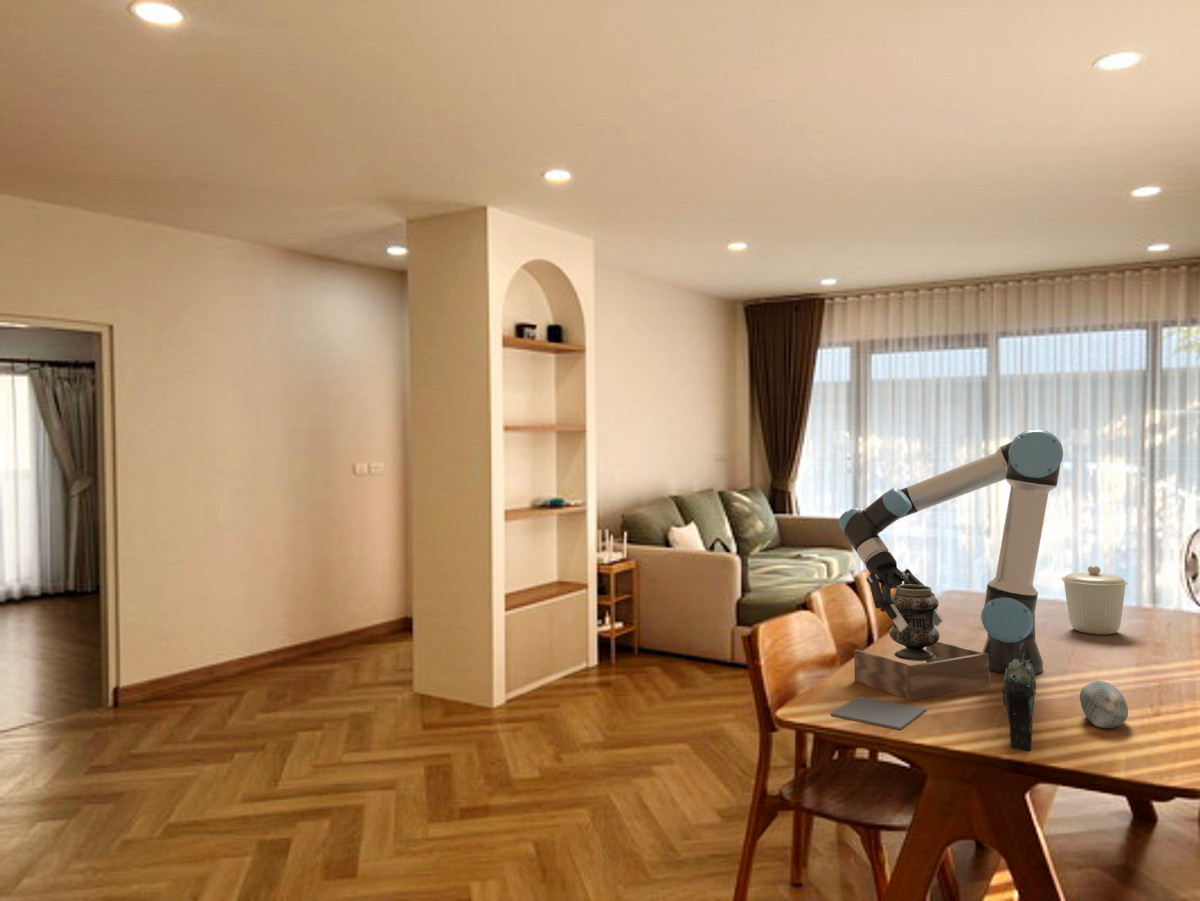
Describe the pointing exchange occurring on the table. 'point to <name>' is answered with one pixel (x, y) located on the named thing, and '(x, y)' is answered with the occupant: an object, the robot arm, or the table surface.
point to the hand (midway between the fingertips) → (922, 626)
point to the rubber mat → (879, 712)
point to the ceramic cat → (1020, 700)
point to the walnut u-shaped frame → (925, 672)
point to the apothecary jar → (915, 621)
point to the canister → (1094, 601)
